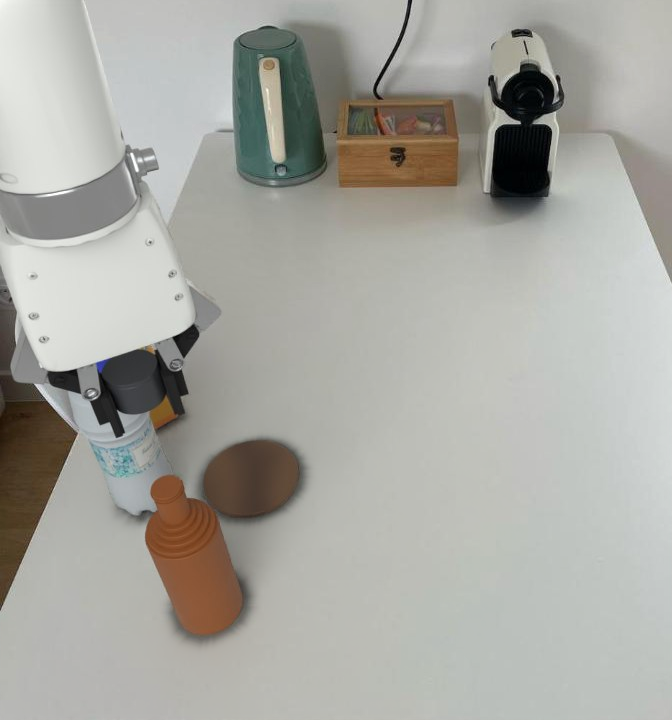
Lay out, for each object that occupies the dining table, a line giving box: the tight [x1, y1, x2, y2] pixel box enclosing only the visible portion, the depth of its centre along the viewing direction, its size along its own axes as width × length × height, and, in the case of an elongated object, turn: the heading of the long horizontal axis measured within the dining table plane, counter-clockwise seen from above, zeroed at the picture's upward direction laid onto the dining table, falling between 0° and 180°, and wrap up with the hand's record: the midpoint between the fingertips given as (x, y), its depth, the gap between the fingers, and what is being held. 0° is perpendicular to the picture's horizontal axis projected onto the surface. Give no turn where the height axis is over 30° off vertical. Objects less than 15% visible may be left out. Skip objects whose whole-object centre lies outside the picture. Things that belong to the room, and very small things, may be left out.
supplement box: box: [139, 345, 179, 431], centre depth 90 cm, size 3×3×10 cm
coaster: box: [202, 439, 300, 519], centre depth 86 cm, size 10×10×1 cm
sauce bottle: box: [144, 474, 244, 636], centre depth 69 cm, size 6×6×18 cm
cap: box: [102, 349, 167, 415], centre depth 56 cm, size 4×4×3 cm
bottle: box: [67, 358, 174, 517], centre depth 78 cm, size 7×7×20 cm
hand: (145, 411), depth 58 cm, fingers closed on cap, 3 cm apart
